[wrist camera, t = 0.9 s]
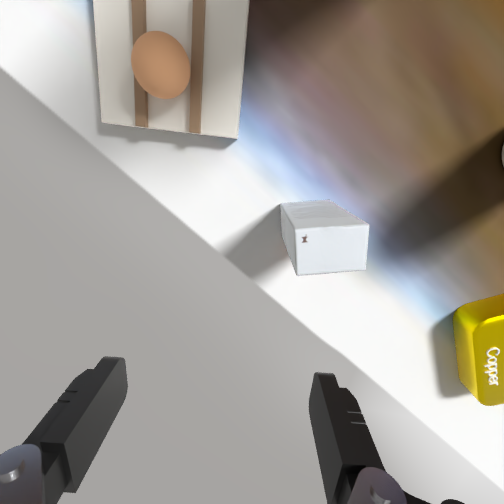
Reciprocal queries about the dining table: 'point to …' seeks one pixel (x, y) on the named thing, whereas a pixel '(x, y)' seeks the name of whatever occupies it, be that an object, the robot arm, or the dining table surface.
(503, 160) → the travel mug
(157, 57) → the ball
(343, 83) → the dining table surface
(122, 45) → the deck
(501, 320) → the element tile
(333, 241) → the skincare box
